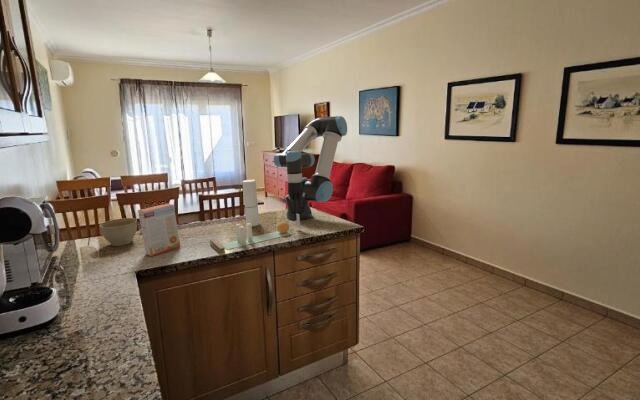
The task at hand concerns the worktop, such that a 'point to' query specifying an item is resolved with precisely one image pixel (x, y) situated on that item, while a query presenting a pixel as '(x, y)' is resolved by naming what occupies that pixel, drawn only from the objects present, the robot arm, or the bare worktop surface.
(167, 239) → the cracker box
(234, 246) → the lane
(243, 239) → the pin back left
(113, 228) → the planter bowl
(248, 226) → the pin front
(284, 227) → the ball
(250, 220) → the cylindrical container
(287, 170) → the robot arm
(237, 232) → the pin back right
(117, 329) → the worktop surface
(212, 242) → the backstop
